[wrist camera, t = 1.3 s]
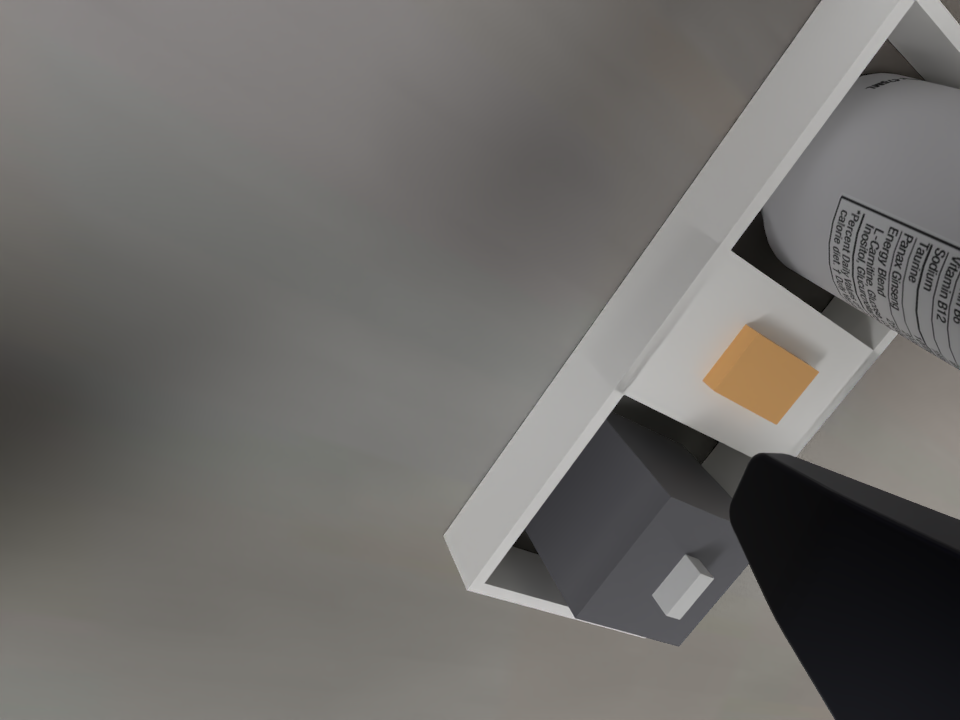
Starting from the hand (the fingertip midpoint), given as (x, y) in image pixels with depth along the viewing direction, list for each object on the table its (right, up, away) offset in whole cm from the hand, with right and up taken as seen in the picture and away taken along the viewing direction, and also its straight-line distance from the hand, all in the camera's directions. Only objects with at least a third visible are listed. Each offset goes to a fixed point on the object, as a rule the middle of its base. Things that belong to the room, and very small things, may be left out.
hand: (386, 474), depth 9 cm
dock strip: (+8, +2, +17) cm, 19 cm away
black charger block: (+5, -3, +18) cm, 19 cm away
